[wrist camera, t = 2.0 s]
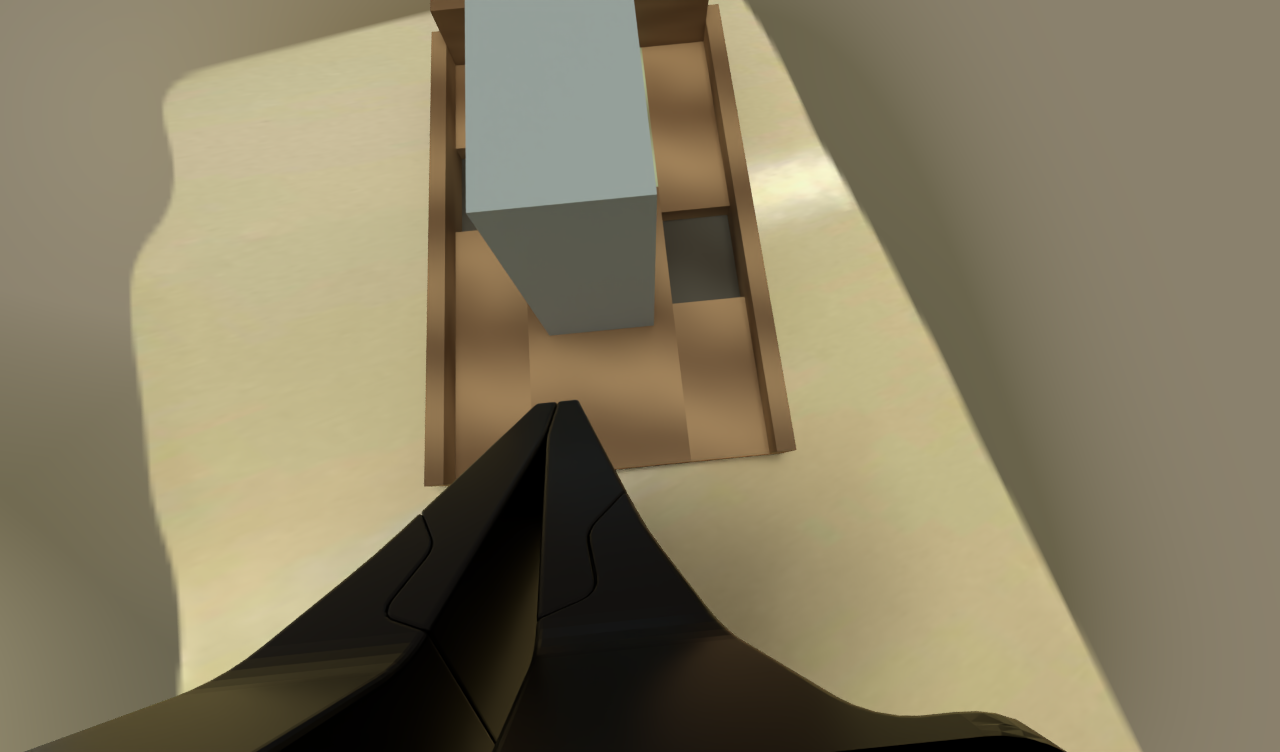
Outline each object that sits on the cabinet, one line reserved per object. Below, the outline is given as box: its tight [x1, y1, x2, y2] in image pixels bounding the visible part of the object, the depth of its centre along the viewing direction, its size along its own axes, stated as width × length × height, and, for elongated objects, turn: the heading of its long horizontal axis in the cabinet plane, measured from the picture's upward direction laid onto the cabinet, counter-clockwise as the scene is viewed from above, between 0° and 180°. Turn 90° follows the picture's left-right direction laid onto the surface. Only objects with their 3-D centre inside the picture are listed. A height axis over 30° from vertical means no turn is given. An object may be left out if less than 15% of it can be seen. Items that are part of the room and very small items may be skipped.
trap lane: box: [424, 0, 796, 486], centre depth 22 cm, size 24×16×4 cm, turn 5°
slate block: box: [465, 0, 657, 336], centre depth 17 cm, size 8×5×10 cm, turn 5°
